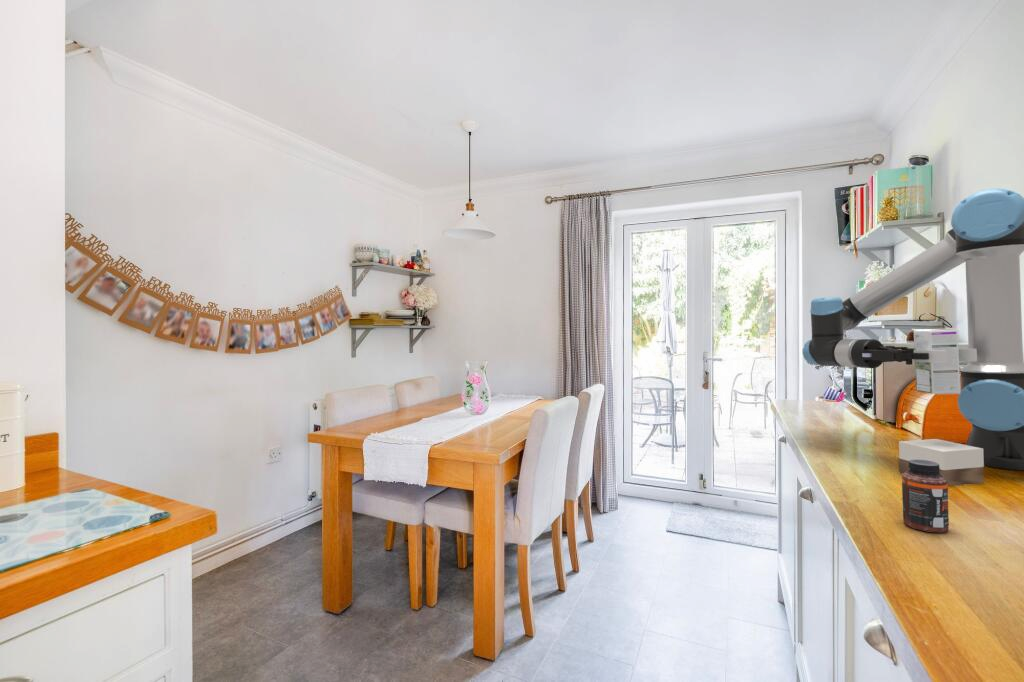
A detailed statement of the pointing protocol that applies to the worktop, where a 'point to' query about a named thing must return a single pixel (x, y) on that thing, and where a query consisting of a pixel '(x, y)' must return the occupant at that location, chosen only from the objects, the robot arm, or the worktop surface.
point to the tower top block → (942, 453)
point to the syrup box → (938, 374)
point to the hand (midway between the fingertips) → (961, 355)
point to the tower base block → (953, 474)
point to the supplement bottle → (925, 497)
